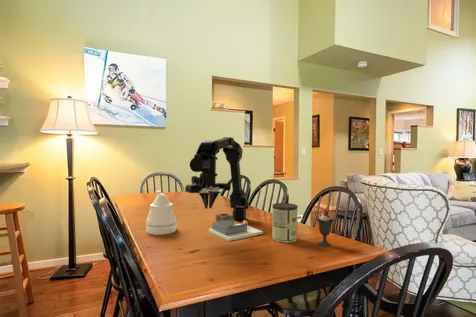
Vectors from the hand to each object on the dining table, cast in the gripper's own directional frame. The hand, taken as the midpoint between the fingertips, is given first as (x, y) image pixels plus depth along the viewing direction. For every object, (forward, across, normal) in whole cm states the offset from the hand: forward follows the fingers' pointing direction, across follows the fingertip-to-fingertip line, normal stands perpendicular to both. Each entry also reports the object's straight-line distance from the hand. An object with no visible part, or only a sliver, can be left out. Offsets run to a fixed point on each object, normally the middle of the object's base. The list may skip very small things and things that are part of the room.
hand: (208, 208), depth 115 cm
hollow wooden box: (+12, -16, -13) cm, 24 cm away
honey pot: (+12, +12, -20) cm, 27 cm away
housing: (+11, -11, 0) cm, 15 cm away
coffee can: (+12, -26, +19) cm, 34 cm away
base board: (+12, -14, +1) cm, 18 cm away
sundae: (+12, -34, +33) cm, 49 cm away
